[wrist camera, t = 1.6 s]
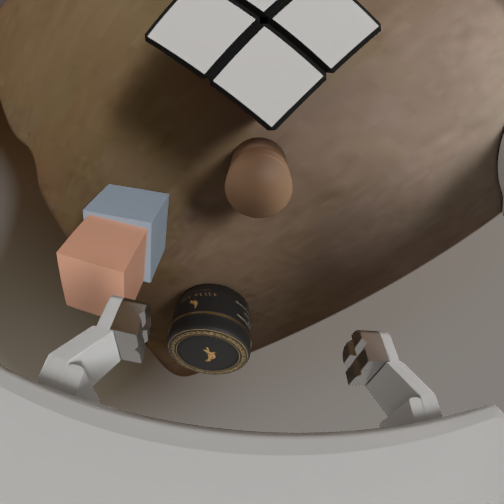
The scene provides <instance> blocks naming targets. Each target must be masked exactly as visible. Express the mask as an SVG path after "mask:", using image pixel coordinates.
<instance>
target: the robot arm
mask: <svg viewBox="0 0 504 504" xmlns="http://www.w3.org/2000/svg"><path fill="white" fill-rule="evenodd" d="M498 178H499V184H500V187H501V191H502V194H503V209H502V211H503V216H504V134H503V137H502V140H501V144H500V149H499V156H498ZM149 312H150V304H149V303H146V302H141V301H137V300H133V299H128V298H123V297H119V296H115V295H112V296H111V297H110V298H109V300H108V302H107V304H106V306H105V309H104V311H103V313H102V315H101V317H100V319H99V321H98V324H97V326H91V327H90V328H88V329H87V330H85V331H84V332H82V333H81V334H79V335H77V336H76V337H74V338H73V339H71V340H70V341H68V342H67V343H65V344H64V345H62V346H61V347H59V348H58V349H56V350H55V351H53V352H52V353H50V354H49V355H48V358H47V359H46V362H45V364H44V366H43V368H42V370H41V373H40V375H39V377H38V380H37V381H35V380H32V379H30V378H28V377H26V376H23V375H21V374H19V373H17V372H15V371H12V370H11V369H9V368H6V367H5V366H3V365H1V364H0V504H504V413H503V412H502V411H501V410H500V409H499V408H497V407H496V406H495V405H493V404H489V405H485V406H482V407H479V408H475V409H472V410H468V411H465V412H461V413H457V414H453V415H449V416H445V417H442V414H441V411H440V408H439V405H438V402H437V399H436V396H435V394H434V393H433V392H432V391H431V390H430V389H429V388H428V387H427V386H426V385H425V384H424V383H423V382H422V381H421V380H420V379H419V378H418V377H417V376H416V375H415V374H414V373H413V372H412V371H411V370H410V369H409V368H408V367H407V366H406V365H405V364H404V363H403V362H399V359H398V356H397V353H396V350H395V347H394V345H393V342H392V339H391V337H390V334H389V333H388V332H378V331H362V330H357V331H355V332H354V333H353V335H352V340H351V341H349V342H347V344H346V346H345V347H344V350H343V362H344V364H345V365H346V366H347V368H348V369H347V371H346V376H347V380H348V385H354V386H358V385H359V386H360V385H361V386H365V387H366V388H367V389H368V391H369V392H370V393H371V395H372V396H373V397H374V399H375V400H376V401H377V403H378V404H379V405H380V407H381V408H382V409H383V411H384V412H385V413H386V415H387V416H388V417H387V418H386V419H385V420H383V421H382V422H381V423H380V425H379V426H380V428H375V429H366V430H355V431H341V432H319V433H278V432H277V433H276V432H256V431H241V430H231V429H221V428H213V427H204V426H198V425H191V424H185V423H179V422H173V421H168V420H162V419H157V418H153V417H148V416H143V415H139V414H135V413H131V412H127V411H123V410H119V409H116V408H112V407H108V406H104V405H101V404H99V401H100V400H99V399H98V396H97V395H96V393H95V391H94V389H93V387H92V386H93V385H94V384H95V383H96V382H98V381H99V380H100V379H101V378H102V377H103V376H104V375H105V374H106V373H108V372H109V371H110V370H111V369H112V368H113V367H114V366H115V365H116V364H117V363H118V362H120V361H121V359H122V360H127V361H132V362H137V363H142V359H143V356H144V353H145V342H147V341H148V339H149V335H150V330H151V317H150V316H149Z"/></svg>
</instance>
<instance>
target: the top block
mask: <svg viewBox="0 0 504 504" xmlns="http://www.w3.org/2000/svg"><path fill="white" fill-rule="evenodd" d="M147 234H148V229H146V228H142V227H138V226H134V225H130V224H126V223H122V222H118V221H114V220H110V219H106V218H102V217H98V216H94V215H90V214H89V215H88V216H87V217H86V218H85V219H84V221H83V222H82V223H81V224H80V225H79V226H78V227H77V229H76V230H75V231H74V232H73V233H72V234H71V236H70V237H69V238H68V239H67V240H66V242H65V243H64V244H63V245H62V247H61V248H60V249H59V250H58V251H57V260H58V266H59V270H60V277H61V282H62V286H63V291H64V296H65V300H66V304H67V305H68V306H71V307H74V308H77V309H80V310H83V311H86V312H89V313H92V314H95V315H98V316H101V315H102V313H103V311H104V309H105V306H106V304H107V302H108V300H109V298H110V297H111V296H112V295H115V296H119V297H123V298H128V299H133V300H135V299H136V297H137V295H138V292H139V290H140V288H141V285H142V283H143V281H144V275H145V259H146V246H147Z"/></svg>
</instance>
